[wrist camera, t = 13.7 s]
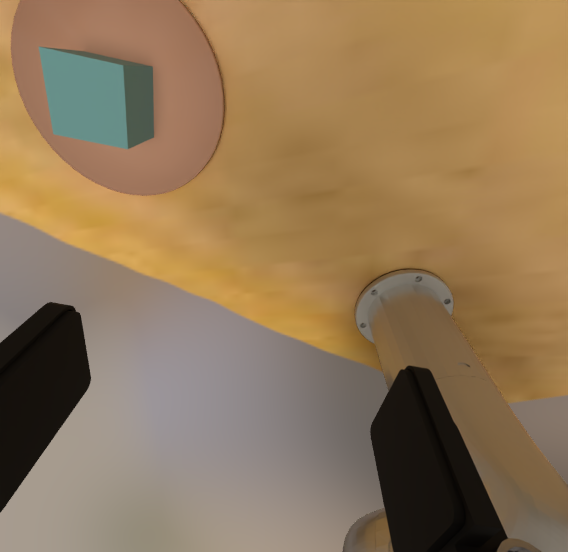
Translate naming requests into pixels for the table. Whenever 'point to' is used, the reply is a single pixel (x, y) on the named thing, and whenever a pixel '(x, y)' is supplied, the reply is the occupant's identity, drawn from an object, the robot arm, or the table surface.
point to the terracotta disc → (139, 49)
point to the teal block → (98, 97)
